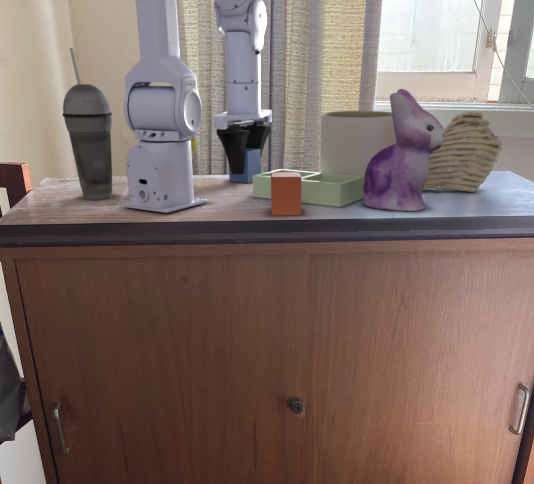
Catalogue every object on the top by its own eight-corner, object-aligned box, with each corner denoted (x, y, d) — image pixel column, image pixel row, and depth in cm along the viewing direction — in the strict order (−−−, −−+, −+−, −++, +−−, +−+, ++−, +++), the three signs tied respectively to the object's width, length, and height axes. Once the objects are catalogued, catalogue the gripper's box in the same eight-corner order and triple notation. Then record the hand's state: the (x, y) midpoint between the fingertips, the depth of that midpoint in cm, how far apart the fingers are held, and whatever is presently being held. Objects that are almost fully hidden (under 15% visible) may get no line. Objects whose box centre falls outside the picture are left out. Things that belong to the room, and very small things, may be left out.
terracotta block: (300, 215, 95) (301, 176, 93) (272, 215, 95) (272, 177, 93) (298, 209, 99) (299, 172, 96) (270, 209, 99) (270, 172, 96)
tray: (364, 198, 106) (365, 176, 104) (339, 207, 100) (340, 184, 98) (280, 189, 113) (280, 168, 111) (252, 196, 107) (252, 175, 106)
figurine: (438, 212, 97) (453, 90, 89) (366, 212, 97) (375, 91, 89) (425, 199, 105) (438, 87, 97) (359, 199, 105) (366, 87, 97)
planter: (329, 196, 107) (333, 118, 101) (310, 183, 118) (312, 111, 112) (404, 192, 109) (412, 116, 103) (379, 180, 120) (384, 110, 114)
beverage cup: (110, 202, 104) (92, 47, 93) (66, 200, 105) (43, 47, 95) (128, 193, 110) (112, 47, 99) (86, 192, 111) (66, 47, 101)
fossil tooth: (403, 194, 115) (494, 185, 114) (410, 199, 109) (505, 189, 108) (403, 118, 109) (498, 107, 108) (410, 119, 104) (510, 108, 103)
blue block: (248, 183, 118) (247, 151, 115) (229, 181, 120) (228, 149, 117) (260, 179, 121) (260, 148, 118) (242, 178, 123) (241, 147, 120)
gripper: (248, 80, 119) (249, 164, 127) (196, 83, 109) (201, 175, 116) (282, 81, 116) (281, 167, 123) (232, 84, 106) (235, 179, 113)
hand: (244, 171), depth 120 cm, fingers open, 4 cm apart
